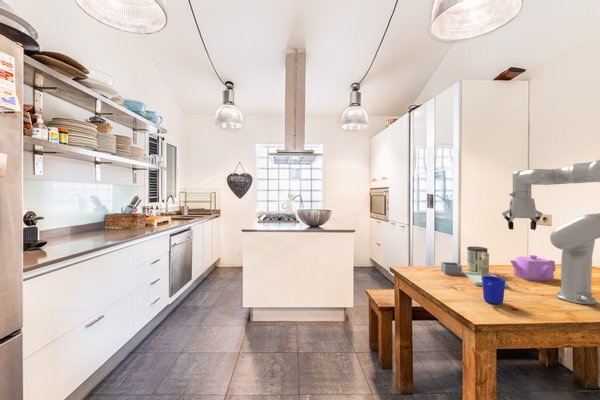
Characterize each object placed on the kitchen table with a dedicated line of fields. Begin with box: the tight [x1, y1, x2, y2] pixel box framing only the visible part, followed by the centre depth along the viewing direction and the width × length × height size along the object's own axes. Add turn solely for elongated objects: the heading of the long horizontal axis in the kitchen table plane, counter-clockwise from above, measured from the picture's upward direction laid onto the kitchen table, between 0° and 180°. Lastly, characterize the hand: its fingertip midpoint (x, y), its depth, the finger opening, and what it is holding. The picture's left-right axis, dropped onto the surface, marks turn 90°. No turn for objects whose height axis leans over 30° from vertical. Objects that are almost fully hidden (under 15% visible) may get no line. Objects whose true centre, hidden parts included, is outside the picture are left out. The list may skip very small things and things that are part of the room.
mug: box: [482, 276, 506, 305], centre depth 120 cm, size 8×12×10 cm
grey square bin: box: [440, 261, 463, 276], centre depth 165 cm, size 9×9×6 cm
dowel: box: [481, 252, 490, 280], centre depth 150 cm, size 3×3×14 cm
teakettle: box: [510, 254, 556, 282], centre depth 156 cm, size 17×17×12 cm
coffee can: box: [466, 246, 489, 273], centre depth 169 cm, size 10×10×14 cm
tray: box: [462, 271, 509, 289], centre depth 151 cm, size 20×14×2 cm
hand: (522, 229), depth 144 cm, fingers open, 9 cm apart
